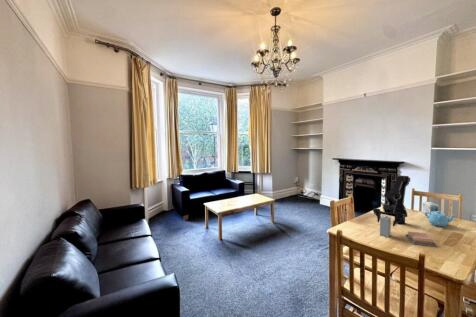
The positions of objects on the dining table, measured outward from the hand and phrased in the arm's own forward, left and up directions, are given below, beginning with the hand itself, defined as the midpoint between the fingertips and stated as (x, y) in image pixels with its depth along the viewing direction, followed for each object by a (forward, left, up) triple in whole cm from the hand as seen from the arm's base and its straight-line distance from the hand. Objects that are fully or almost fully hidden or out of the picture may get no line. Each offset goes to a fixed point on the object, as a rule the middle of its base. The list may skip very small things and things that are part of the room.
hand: (385, 224), depth 150 cm
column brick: (0, 0, -8) cm, 8 cm away
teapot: (-8, +54, -8) cm, 55 cm away
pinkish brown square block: (+12, +15, -8) cm, 21 cm away
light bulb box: (-28, +69, -8) cm, 75 cm away
